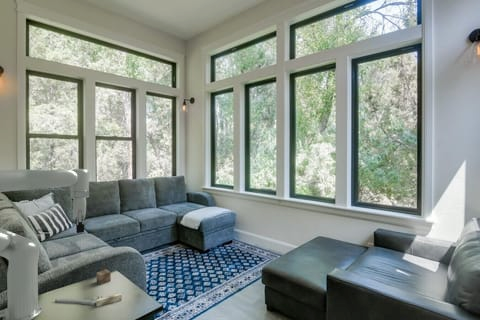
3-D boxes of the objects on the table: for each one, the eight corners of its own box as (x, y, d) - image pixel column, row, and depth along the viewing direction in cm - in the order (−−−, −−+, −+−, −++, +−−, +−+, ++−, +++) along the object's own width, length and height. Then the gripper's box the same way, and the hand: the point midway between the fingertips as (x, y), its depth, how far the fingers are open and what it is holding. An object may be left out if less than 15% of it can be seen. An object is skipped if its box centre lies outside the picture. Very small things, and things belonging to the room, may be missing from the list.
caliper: (102, 295, 118) (96, 303, 112) (102, 298, 118) (96, 305, 112) (55, 298, 116) (46, 306, 110) (55, 301, 116) (46, 309, 110)
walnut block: (100, 285, 131) (100, 275, 131) (96, 282, 134) (96, 272, 134) (110, 281, 135) (110, 272, 135) (106, 278, 138) (106, 269, 138)
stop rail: (96, 306, 112) (96, 301, 111) (96, 304, 113) (96, 299, 113) (121, 300, 117) (121, 294, 117) (121, 298, 118) (121, 292, 118)
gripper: (71, 193, 128) (71, 229, 128) (69, 197, 115) (70, 237, 115) (88, 192, 132) (89, 227, 132) (89, 195, 119) (89, 235, 119)
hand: (80, 232), depth 124 cm, fingers closed
